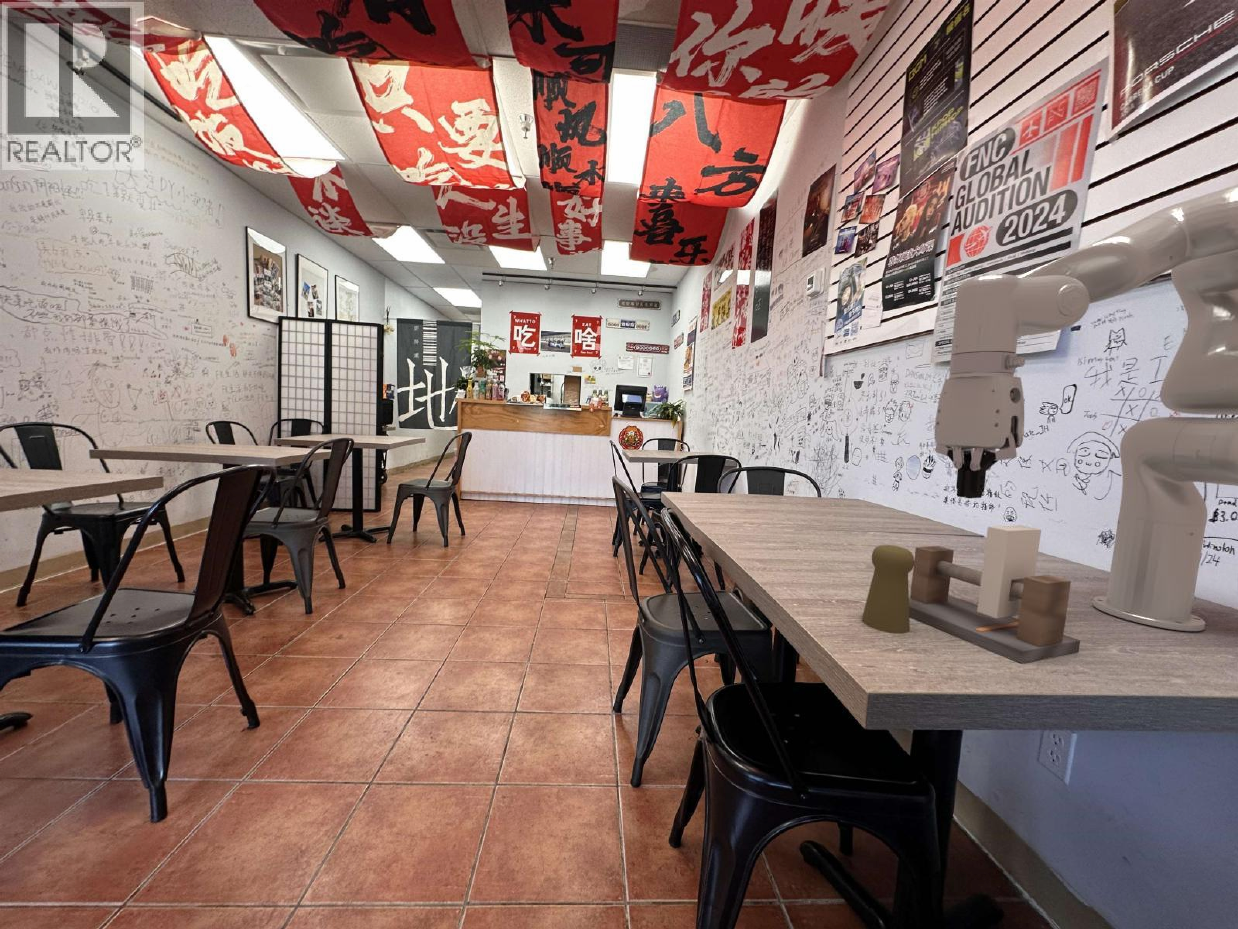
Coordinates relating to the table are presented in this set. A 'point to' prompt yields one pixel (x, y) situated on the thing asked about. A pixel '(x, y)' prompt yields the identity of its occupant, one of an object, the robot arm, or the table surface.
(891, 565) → the olive green pawn
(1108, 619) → the table surface
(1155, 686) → the table surface
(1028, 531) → the collar
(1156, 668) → the table surface
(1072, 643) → the rod board
